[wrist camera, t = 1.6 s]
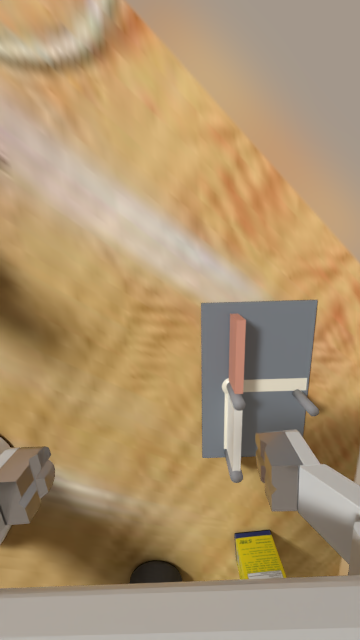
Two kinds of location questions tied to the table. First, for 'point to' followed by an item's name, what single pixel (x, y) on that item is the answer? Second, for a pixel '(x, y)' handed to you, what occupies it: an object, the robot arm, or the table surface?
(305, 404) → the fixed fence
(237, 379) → the fence panel
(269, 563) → the supplement box
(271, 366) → the card
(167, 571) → the smart speaker
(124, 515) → the table surface
